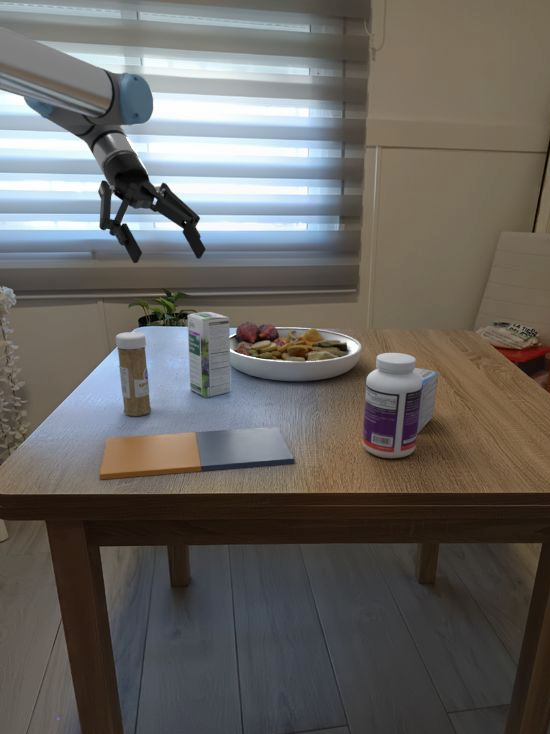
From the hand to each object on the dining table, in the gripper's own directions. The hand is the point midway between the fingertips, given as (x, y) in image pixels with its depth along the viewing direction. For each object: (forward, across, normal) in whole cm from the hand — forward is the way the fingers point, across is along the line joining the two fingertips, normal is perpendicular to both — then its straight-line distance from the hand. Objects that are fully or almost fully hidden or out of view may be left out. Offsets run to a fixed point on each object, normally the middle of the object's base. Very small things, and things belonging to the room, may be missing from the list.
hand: (171, 256), depth 106 cm
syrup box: (+24, 0, -9) cm, 26 cm away
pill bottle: (+52, -4, +18) cm, 55 cm away
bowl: (+22, -24, -11) cm, 35 cm away
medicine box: (+50, -16, +16) cm, 54 cm away
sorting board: (+39, +18, +6) cm, 43 cm away
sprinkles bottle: (+25, +16, -9) cm, 31 cm away
